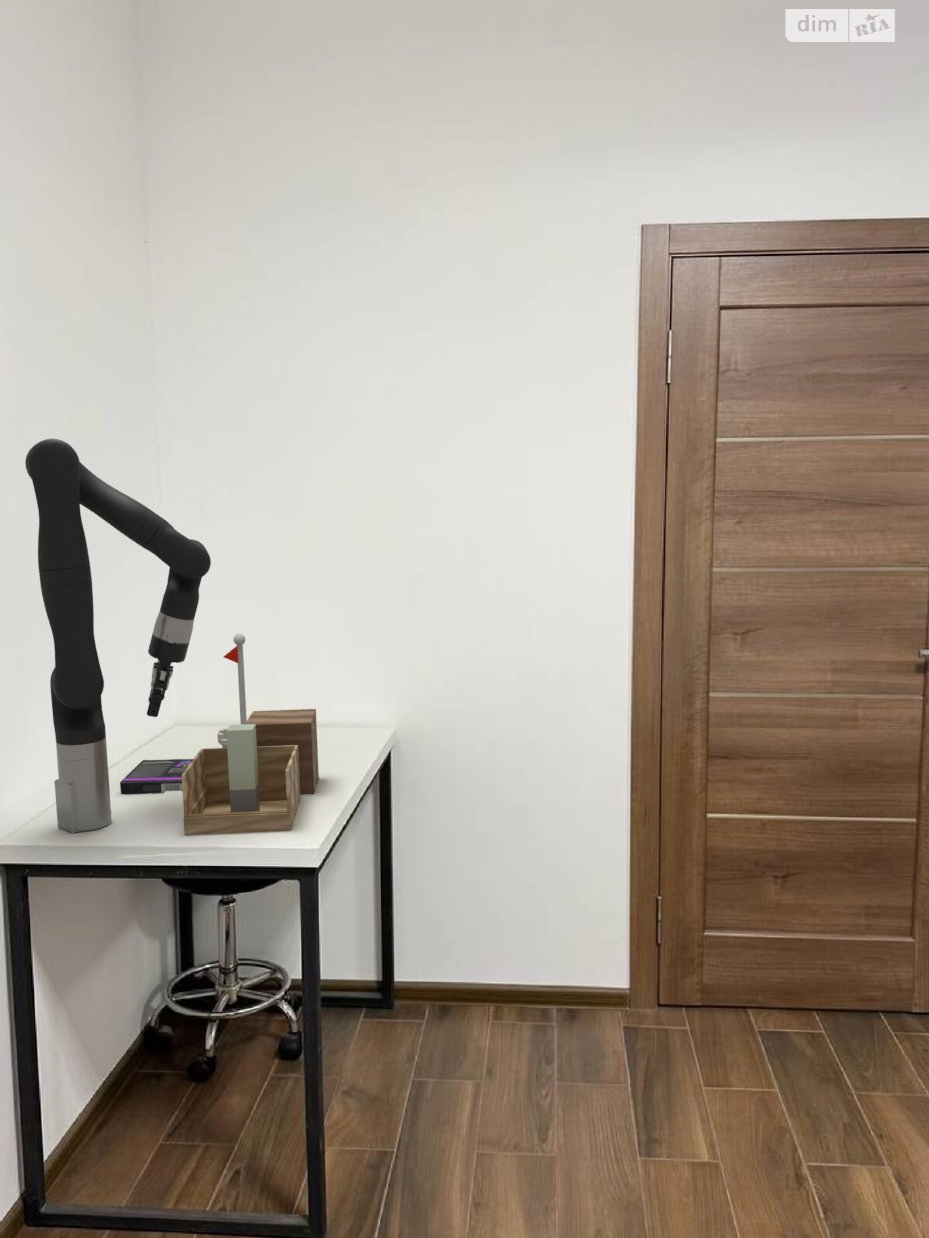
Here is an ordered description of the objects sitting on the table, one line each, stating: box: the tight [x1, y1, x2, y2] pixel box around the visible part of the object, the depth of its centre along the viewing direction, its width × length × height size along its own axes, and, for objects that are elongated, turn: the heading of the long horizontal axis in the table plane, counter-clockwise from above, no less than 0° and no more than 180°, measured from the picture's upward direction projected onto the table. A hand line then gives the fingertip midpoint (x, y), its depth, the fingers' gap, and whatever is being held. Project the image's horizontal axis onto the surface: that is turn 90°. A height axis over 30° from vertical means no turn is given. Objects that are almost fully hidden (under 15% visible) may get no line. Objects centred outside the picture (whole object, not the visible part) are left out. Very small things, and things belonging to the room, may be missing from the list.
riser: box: [245, 708, 320, 796], centre depth 224 cm, size 14×14×16 cm
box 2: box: [226, 724, 260, 812], centre depth 204 cm, size 5×5×18 cm
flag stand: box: [217, 633, 248, 748], centre depth 256 cm, size 13×13×30 cm
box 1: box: [119, 758, 194, 795], centre depth 232 cm, size 14×4×20 cm
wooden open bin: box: [181, 745, 301, 836], centre depth 204 cm, size 21×20×12 cm
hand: (152, 709), depth 212 cm, fingers open, 8 cm apart
